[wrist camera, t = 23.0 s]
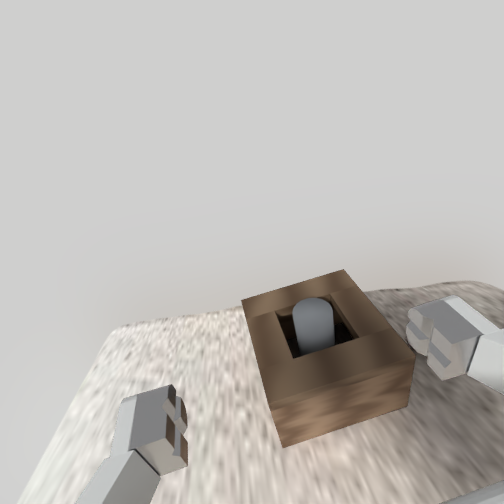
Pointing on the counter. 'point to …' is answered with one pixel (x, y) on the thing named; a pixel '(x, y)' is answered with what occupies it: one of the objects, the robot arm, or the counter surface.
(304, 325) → the grey rubber peg
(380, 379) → the walnut drop box
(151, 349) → the counter surface
